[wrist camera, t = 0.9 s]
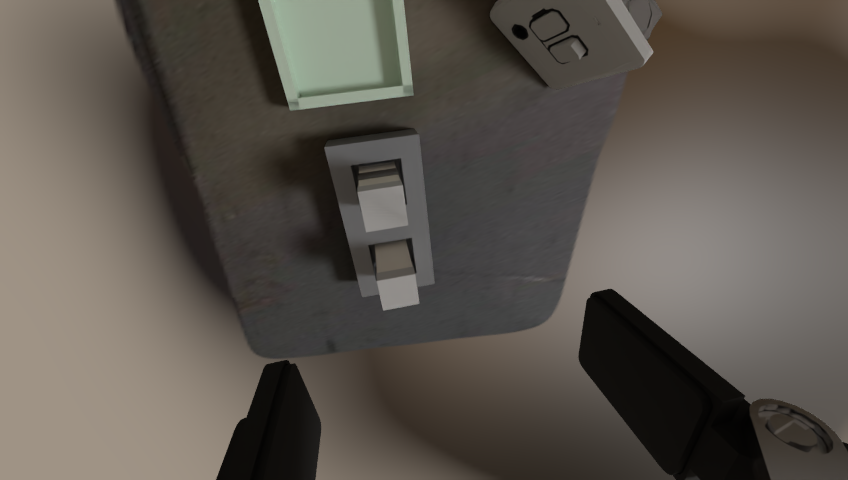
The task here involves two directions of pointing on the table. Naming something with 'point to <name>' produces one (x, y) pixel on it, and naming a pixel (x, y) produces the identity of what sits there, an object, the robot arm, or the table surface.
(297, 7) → the parts tray
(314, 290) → the table surface
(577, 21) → the electrical switch
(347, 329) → the table surface
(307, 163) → the table surface
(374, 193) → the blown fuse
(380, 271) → the block
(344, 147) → the block
